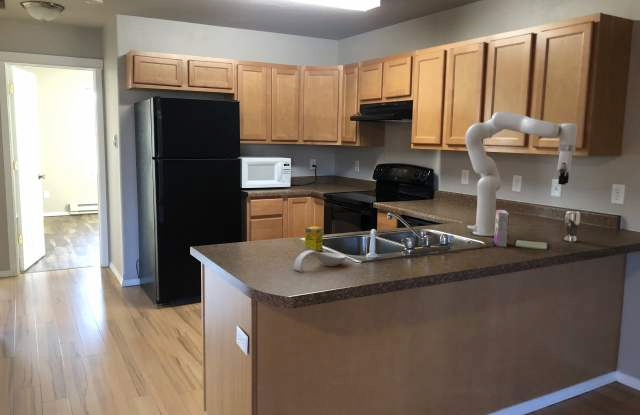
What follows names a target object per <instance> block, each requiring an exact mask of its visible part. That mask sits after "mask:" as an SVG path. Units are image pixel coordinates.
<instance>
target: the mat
mask: <svg viewBox="0 0 640 415" xmlns="http://www.w3.org/2000/svg"><path fill="white" fill-rule="evenodd" d="M514 246H515V247H517V248H527V249H537V250H548V243H547V242H542V241H530V240H520V239H517V240H516V242H515V244H514Z"/></svg>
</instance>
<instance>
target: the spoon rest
mask: <svg viewBox="0 0 640 415" xmlns="http://www.w3.org/2000/svg"><path fill="white" fill-rule="evenodd" d="M310 255H313V256H314V257H315V258H316V259H317V260H318V261H319V262H320V263H321V264H322V265H323V266H326V267H336V266H339V265H340V264H342V263H343V262H344V261H345V260H346V258H347V256H346V255H345V254H341V253H335V252H315V251H312V250H307V251H305V250H304V251H303V252H301V253H300V254H299V255H298V256H297V257H296V259H295V260H294V262H293V270H294V271H297V272H301V273H302V272H303V264H304V260H305V259H306V258H307V257H308V256H310Z"/></svg>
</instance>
